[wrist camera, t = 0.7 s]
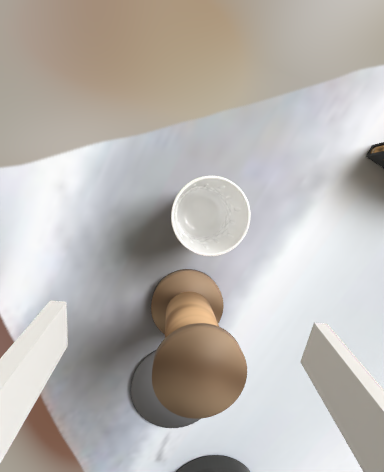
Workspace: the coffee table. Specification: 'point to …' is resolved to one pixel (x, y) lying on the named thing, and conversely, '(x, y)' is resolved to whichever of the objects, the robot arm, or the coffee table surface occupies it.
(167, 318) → the doorknob
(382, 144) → the ammunition clip
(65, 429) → the coffee table surface
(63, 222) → the coffee table surface
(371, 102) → the coffee table surface
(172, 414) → the pad
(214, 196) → the white cup
